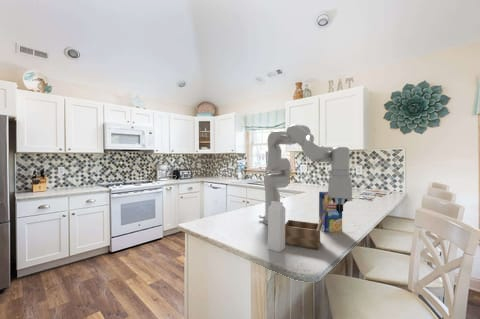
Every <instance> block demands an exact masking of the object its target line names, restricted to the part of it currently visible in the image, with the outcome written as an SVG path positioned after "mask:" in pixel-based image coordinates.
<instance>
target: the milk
mask: <svg viewBox="0 0 480 319" xmlns="http://www.w3.org/2000/svg"><path fill="white" fill-rule="evenodd" d="M283 204H284V203H283V201H280V202H277V201H271V205H270V207H269V208H268V224H267V249H268V250H271V251H274V252H277V253H280V252H282V251H283V250H284V249H286V245H285V224H286V207H285V206H284V205H283Z"/></svg>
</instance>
